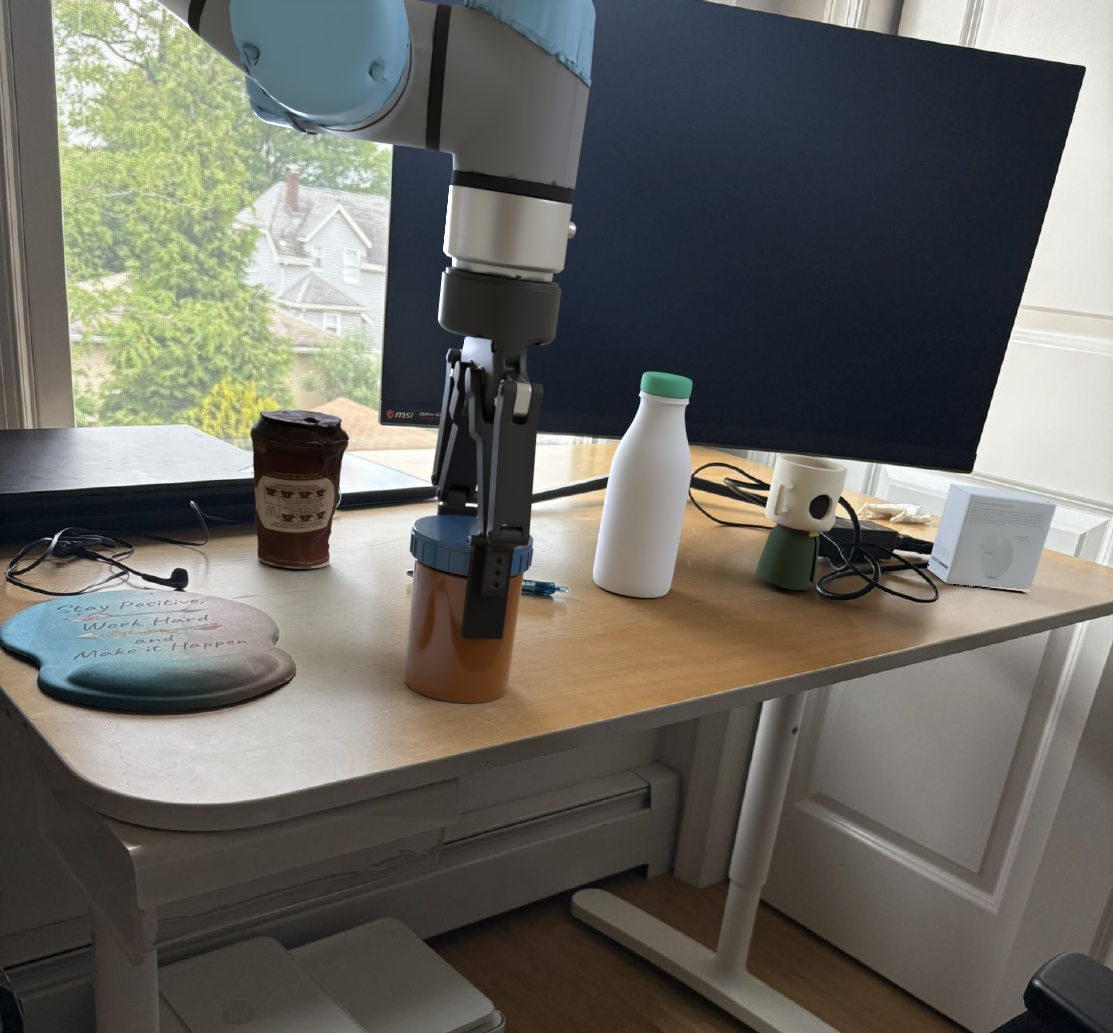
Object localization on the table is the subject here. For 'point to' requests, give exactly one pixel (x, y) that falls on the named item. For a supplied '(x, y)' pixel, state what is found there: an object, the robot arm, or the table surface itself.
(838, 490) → the character mug
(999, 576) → the cosmetics box
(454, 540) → the jar lid
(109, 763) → the table surface
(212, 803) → the table surface
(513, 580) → the jar
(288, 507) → the coffee cup
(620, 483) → the milk bottle
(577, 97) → the robot arm
